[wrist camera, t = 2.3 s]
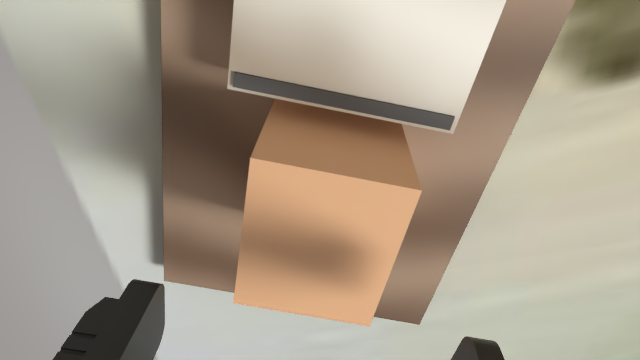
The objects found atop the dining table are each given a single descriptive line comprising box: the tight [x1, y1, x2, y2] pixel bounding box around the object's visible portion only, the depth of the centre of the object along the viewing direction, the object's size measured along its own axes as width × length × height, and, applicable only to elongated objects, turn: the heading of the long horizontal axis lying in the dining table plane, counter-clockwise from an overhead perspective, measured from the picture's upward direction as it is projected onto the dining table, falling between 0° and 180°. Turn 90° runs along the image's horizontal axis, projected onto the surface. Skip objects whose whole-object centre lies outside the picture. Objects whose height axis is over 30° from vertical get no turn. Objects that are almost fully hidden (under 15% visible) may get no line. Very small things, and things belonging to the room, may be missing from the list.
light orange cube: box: [233, 98, 422, 326], centre depth 15 cm, size 6×5×5 cm
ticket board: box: [161, 0, 575, 324], centre depth 14 cm, size 30×14×3 cm, turn 169°
